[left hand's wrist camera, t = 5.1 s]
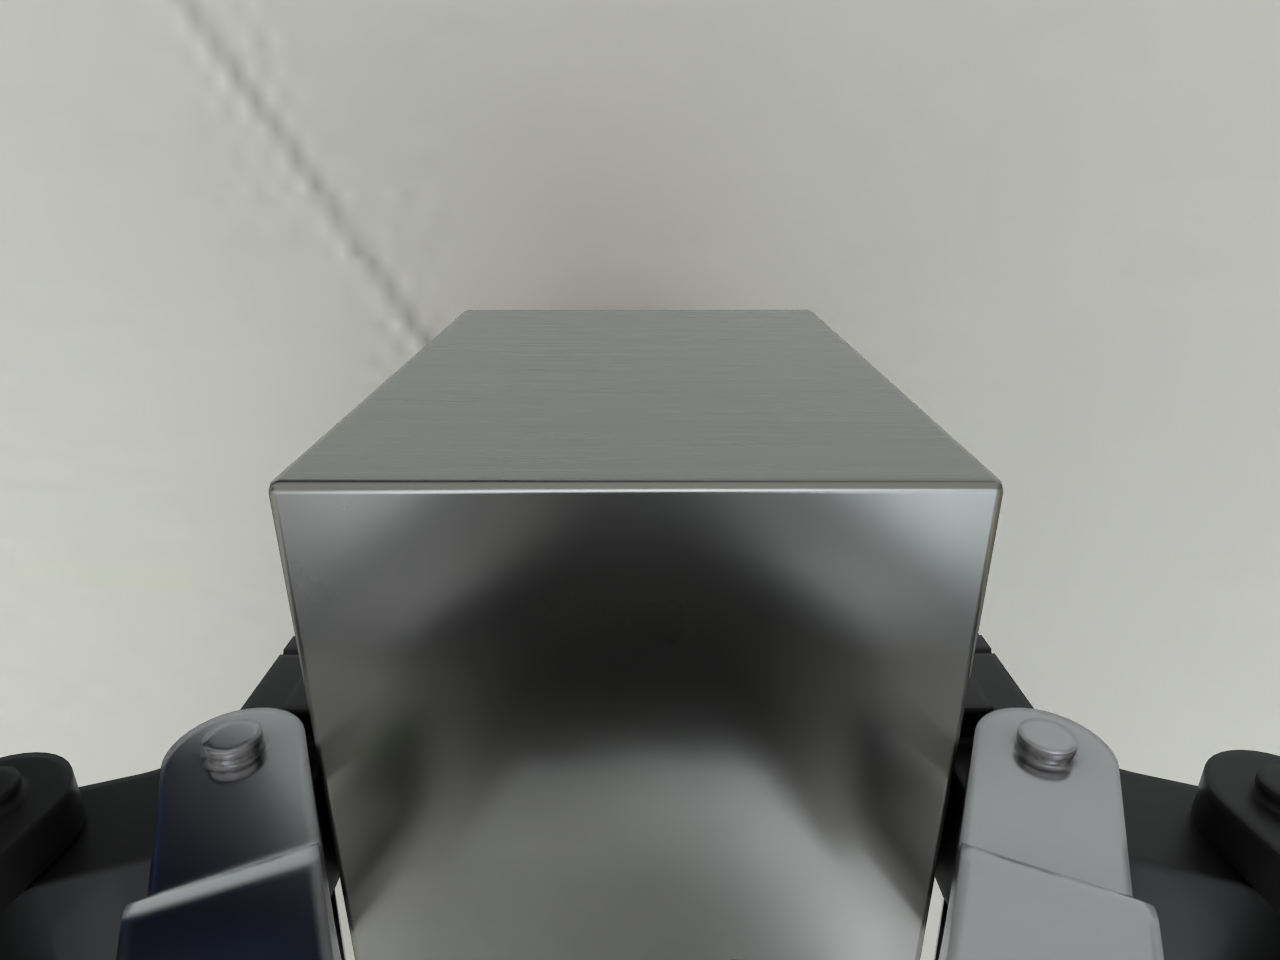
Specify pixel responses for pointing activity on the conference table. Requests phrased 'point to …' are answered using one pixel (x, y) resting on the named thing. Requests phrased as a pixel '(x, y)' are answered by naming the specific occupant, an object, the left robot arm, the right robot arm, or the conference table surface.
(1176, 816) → the left robot arm
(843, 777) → the bar
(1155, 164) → the conference table surface
